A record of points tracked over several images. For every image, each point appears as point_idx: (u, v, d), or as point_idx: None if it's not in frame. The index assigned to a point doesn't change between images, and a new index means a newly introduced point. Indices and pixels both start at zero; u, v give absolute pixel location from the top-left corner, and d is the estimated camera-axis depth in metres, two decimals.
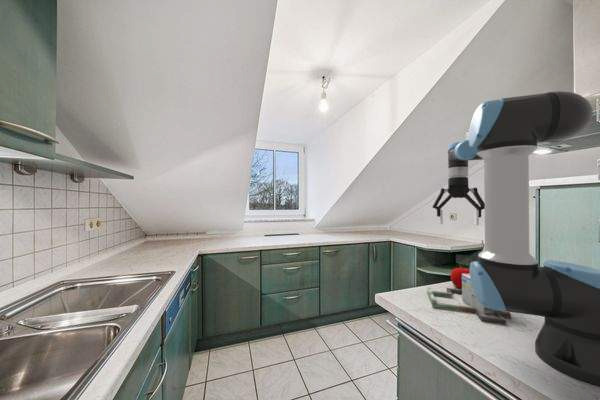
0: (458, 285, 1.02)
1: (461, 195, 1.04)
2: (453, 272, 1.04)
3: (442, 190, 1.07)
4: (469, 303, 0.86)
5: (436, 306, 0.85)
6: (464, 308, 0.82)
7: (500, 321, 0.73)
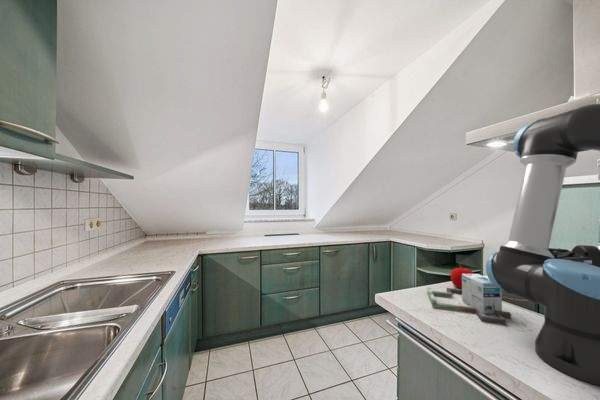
0: (458, 285, 1.02)
1: (563, 253, 0.77)
2: (453, 272, 1.04)
3: None
4: (469, 303, 0.86)
5: (436, 306, 0.85)
6: (464, 308, 0.82)
7: (500, 321, 0.73)
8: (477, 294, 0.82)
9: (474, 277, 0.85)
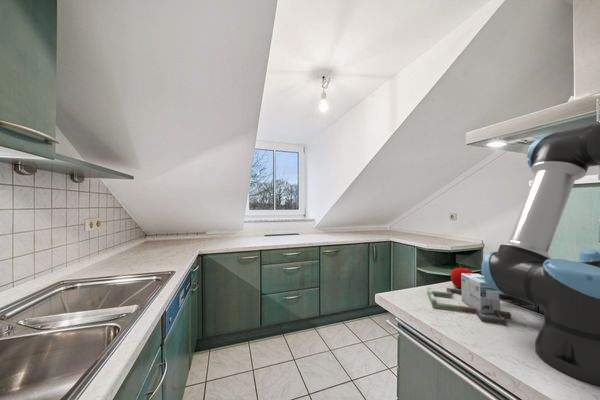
0: (458, 285, 1.02)
1: None
2: (453, 272, 1.04)
3: None
4: (468, 302, 0.86)
5: (436, 306, 0.85)
6: (464, 308, 0.82)
7: (500, 321, 0.73)
8: (475, 293, 0.83)
9: (473, 277, 0.86)
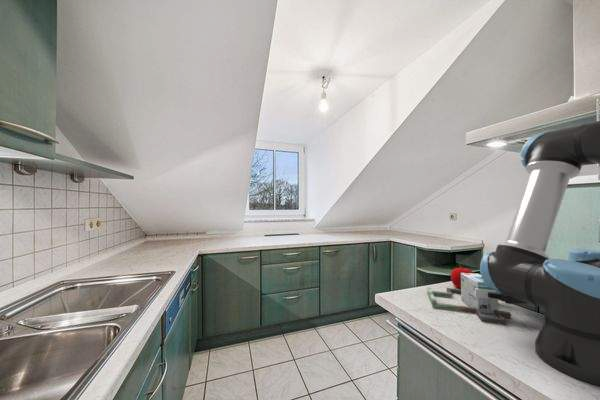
0: (458, 285, 1.02)
1: None
2: (453, 272, 1.04)
3: None
4: (466, 302, 0.87)
5: (436, 306, 0.85)
6: (464, 308, 0.82)
7: (500, 321, 0.73)
8: (473, 292, 0.83)
9: (471, 276, 0.86)
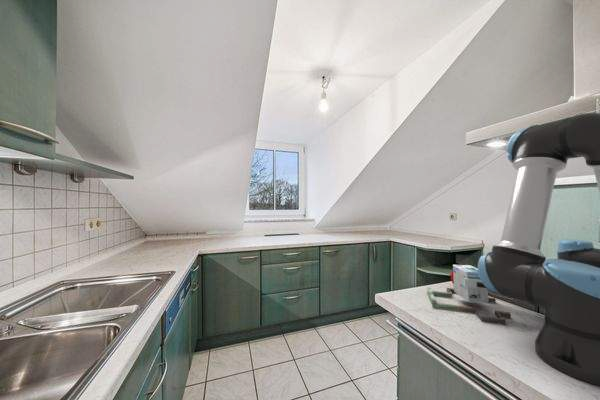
0: None
1: None
2: None
3: None
4: (458, 293, 0.89)
5: (436, 306, 0.85)
6: (464, 308, 0.82)
7: (500, 321, 0.73)
8: (463, 283, 0.85)
9: (462, 267, 0.88)
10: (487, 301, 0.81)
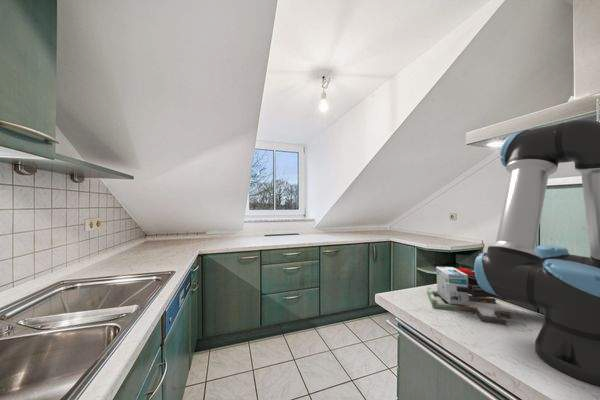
0: None
1: None
2: None
3: None
4: (441, 294, 0.90)
5: (436, 306, 0.85)
6: (464, 308, 0.82)
7: (500, 321, 0.73)
8: None
9: (445, 269, 0.90)
10: (467, 303, 0.83)
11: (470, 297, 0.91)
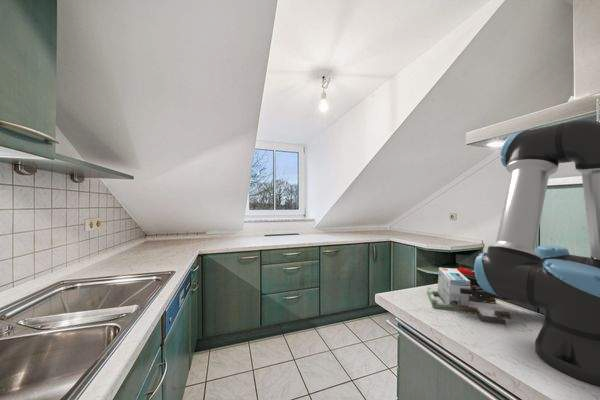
0: None
1: None
2: None
3: None
4: (441, 295, 0.91)
5: (436, 306, 0.85)
6: (464, 308, 0.82)
7: (500, 321, 0.73)
8: (446, 288, 0.86)
9: (447, 272, 0.88)
10: None
11: (470, 297, 0.91)
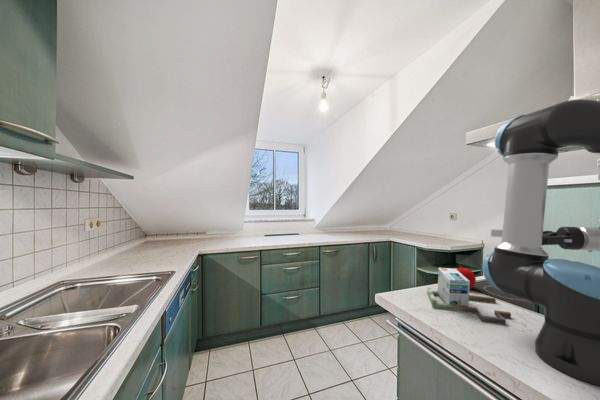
0: None
1: None
2: None
3: None
4: (441, 295, 0.91)
5: (436, 306, 0.85)
6: (464, 308, 0.82)
7: (500, 321, 0.73)
8: (446, 288, 0.86)
9: (447, 272, 0.88)
10: None
11: (470, 297, 0.91)
